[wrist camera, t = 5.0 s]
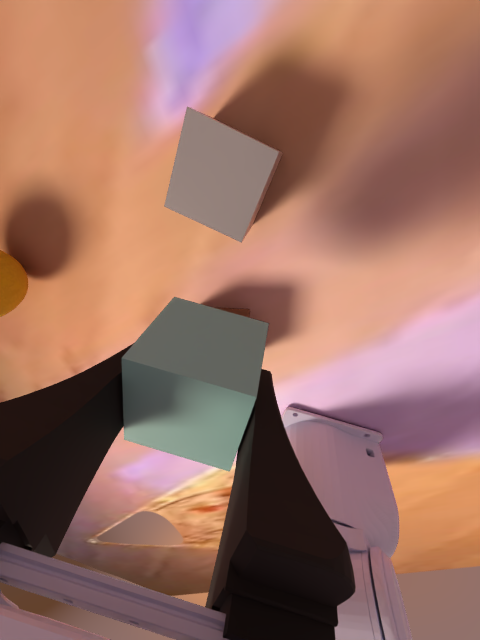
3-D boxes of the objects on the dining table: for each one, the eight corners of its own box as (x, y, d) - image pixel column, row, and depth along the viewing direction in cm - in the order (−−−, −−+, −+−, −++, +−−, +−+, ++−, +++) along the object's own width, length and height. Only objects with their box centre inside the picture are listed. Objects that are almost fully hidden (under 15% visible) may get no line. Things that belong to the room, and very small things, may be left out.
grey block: (283, 152, 16) (279, 151, 12) (252, 224, 18) (241, 242, 15) (213, 118, 16) (187, 106, 12) (191, 195, 18) (164, 206, 14)
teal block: (268, 323, 12) (256, 397, 9) (246, 390, 15) (229, 471, 11) (174, 296, 13) (121, 358, 9) (167, 367, 15) (124, 439, 11)
